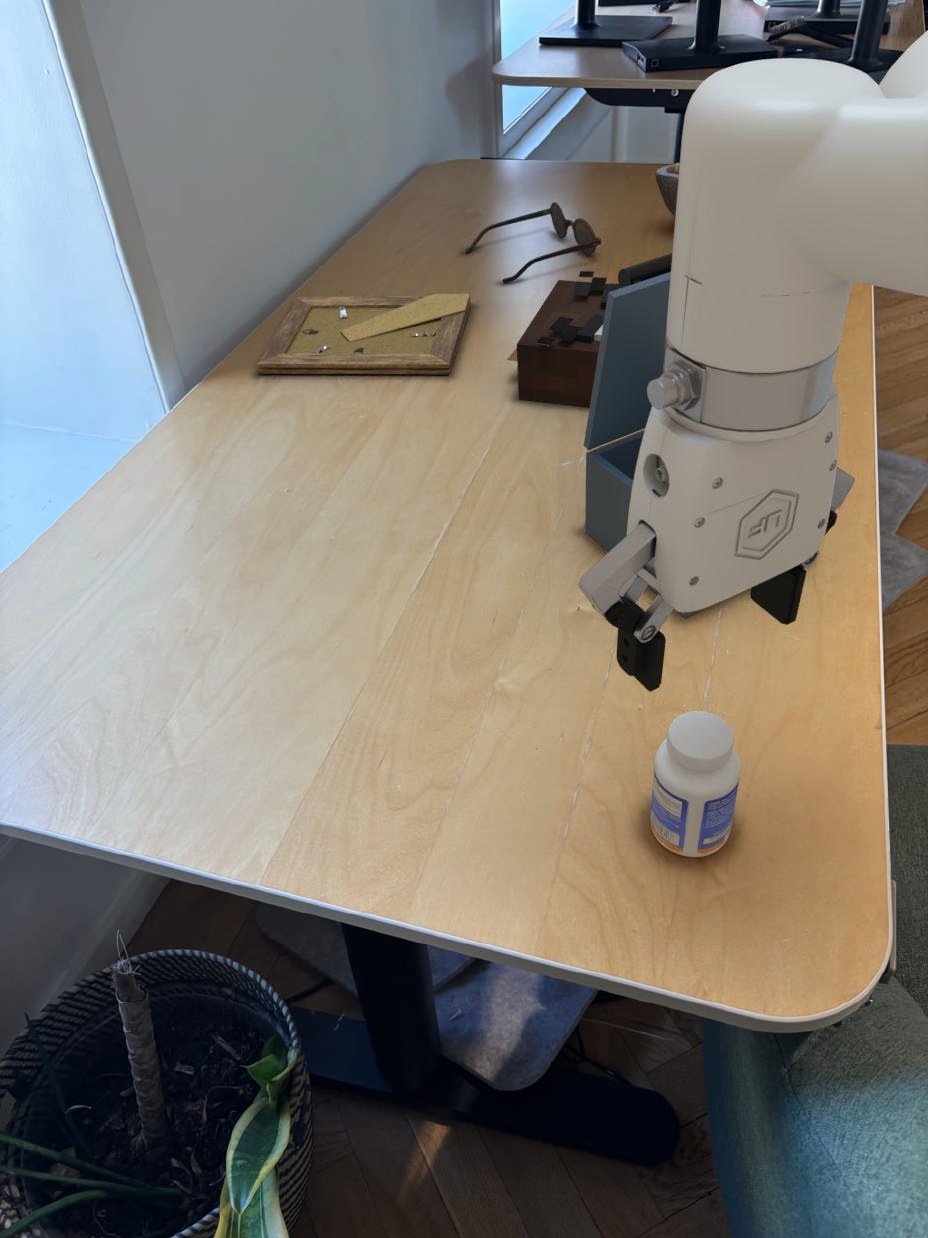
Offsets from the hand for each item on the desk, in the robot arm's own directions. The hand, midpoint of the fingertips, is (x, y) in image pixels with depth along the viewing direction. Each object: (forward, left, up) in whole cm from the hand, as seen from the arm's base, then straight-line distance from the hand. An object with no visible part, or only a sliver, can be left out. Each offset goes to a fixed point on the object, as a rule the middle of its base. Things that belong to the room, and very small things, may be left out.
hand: (706, 641), depth 57 cm
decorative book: (+51, -36, -17) cm, 65 cm away
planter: (+78, -71, -17) cm, 107 cm away
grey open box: (+23, -20, -17) cm, 35 cm away
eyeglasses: (+88, -44, -17) cm, 100 cm away
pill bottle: (-1, 0, -17) cm, 17 cm away
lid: (+29, -20, 0) cm, 35 cm away
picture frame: (+79, -14, -17) cm, 83 cm away
